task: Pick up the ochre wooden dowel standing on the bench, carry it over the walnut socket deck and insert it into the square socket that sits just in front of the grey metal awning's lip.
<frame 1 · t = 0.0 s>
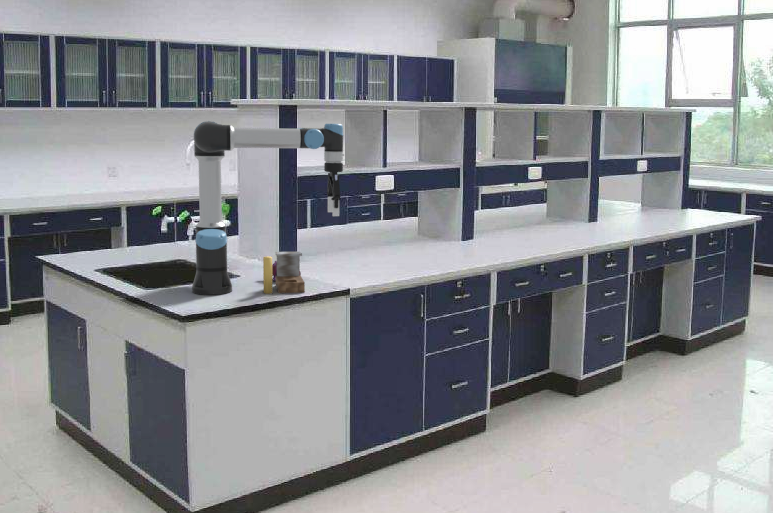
hand: (333, 214, 344), 28 cm above the table, fingers open, 13 cm apart
peg: (268, 292, 324), on the table
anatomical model: (285, 280, 350), on the table
socket deck: (289, 289, 332), on the table
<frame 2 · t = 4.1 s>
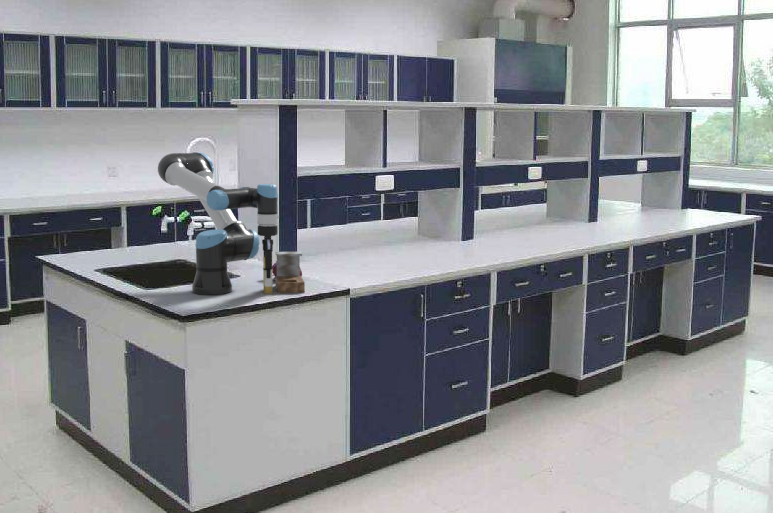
hand: (267, 285, 323), 3 cm above the table, fingers closed on peg, 3 cm apart
peg: (268, 292, 324), on the table, touching gripper
everything else where it was.
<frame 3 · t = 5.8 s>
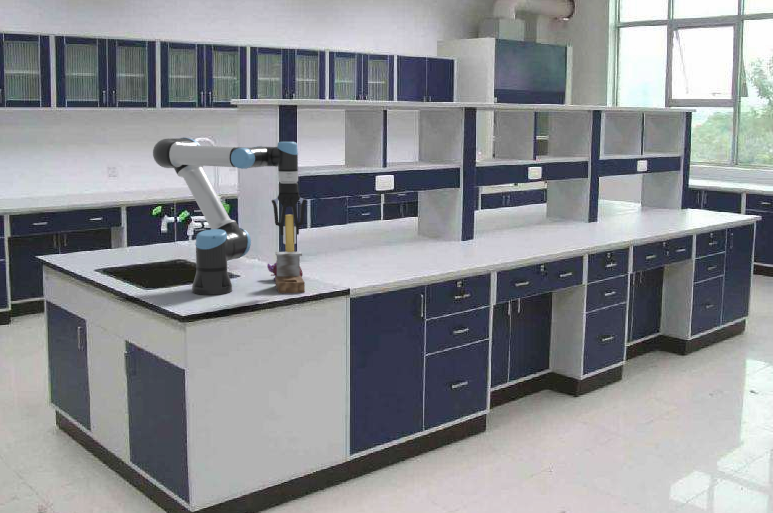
hand: (289, 243, 324), 19 cm above the table, fingers closed on peg, 3 cm apart
peg: (289, 251, 324), point 16 cm above the table, touching gripper
everything else where it was.
when the fingers open (5 cm above the table, at t = 7.7 s): peg drops 2 cm, resting in socket deck.
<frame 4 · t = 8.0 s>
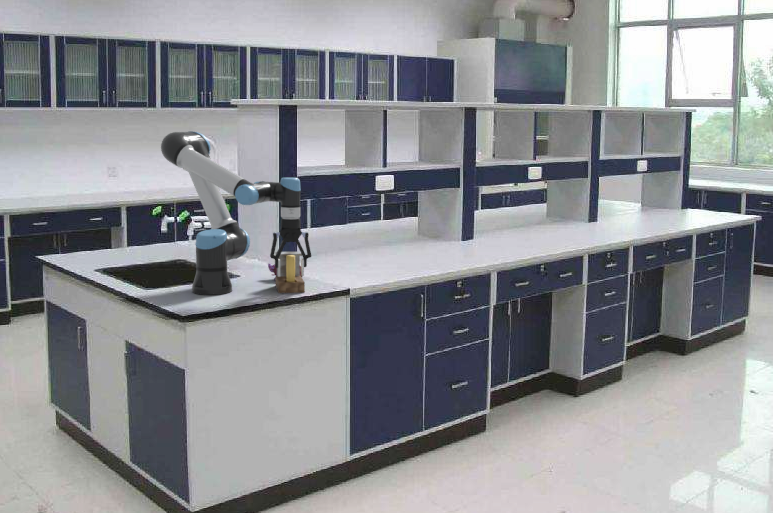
hand: (290, 275, 327), 6 cm above the table, fingers open, 8 cm apart
peg: (290, 291, 328), resting in socket deck
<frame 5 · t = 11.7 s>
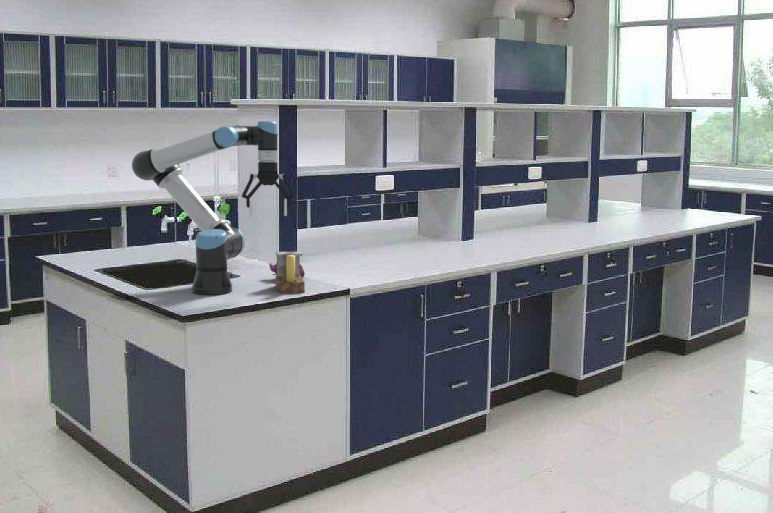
hand: (268, 215, 329), 29 cm above the table, fingers open, 13 cm apart
at the end: peg 0.0 cm from the target spot on the socket deck, point 0.0 cm above the socket deck's base; peg tilted 0°; the gripper is holding nothing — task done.
